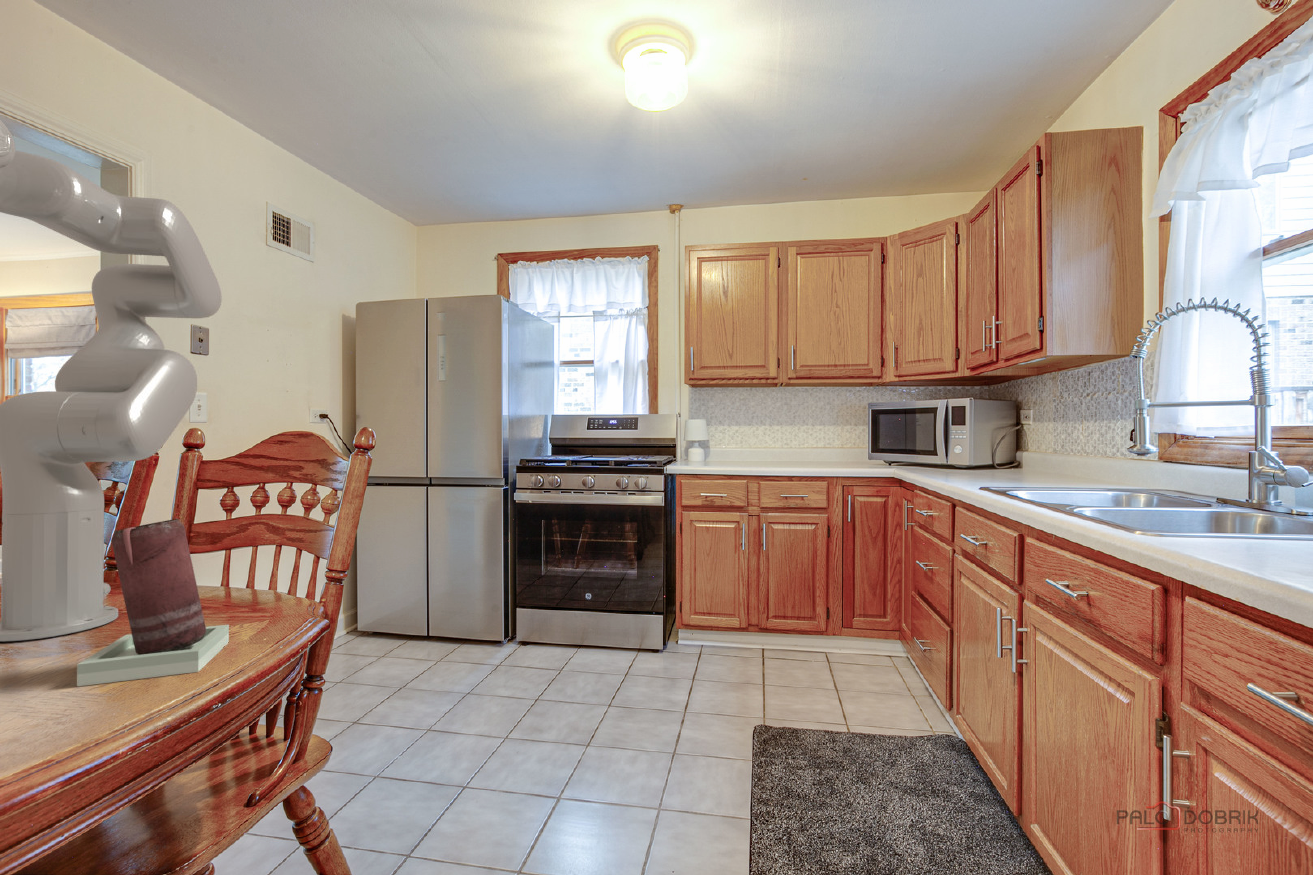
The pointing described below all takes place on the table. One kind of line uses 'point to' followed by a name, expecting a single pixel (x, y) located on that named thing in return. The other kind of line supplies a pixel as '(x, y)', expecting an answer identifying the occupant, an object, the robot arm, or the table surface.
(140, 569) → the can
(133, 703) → the table surface
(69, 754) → the table surface
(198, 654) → the plate
